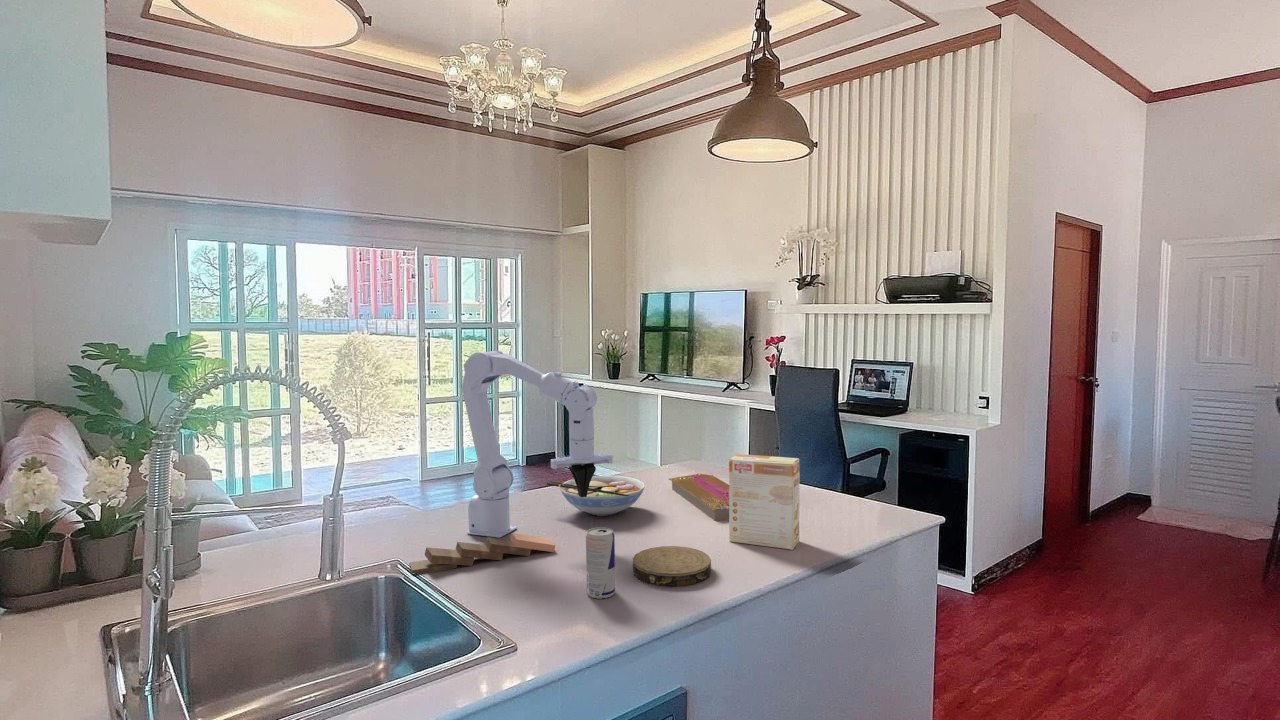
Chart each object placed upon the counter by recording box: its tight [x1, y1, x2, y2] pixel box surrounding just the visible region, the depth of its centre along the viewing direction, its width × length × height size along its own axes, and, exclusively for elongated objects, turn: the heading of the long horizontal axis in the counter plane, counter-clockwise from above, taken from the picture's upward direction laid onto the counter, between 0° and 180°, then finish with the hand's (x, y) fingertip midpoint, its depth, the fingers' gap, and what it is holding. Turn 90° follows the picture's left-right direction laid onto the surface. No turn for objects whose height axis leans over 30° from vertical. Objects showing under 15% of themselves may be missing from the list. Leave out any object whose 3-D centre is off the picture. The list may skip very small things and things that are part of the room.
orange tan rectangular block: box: [509, 532, 556, 553], centre depth 154 cm, size 2×5×9 cm
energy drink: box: [585, 526, 616, 600], centre depth 130 cm, size 5×5×12 cm
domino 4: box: [484, 536, 532, 557], centre depth 152 cm, size 2×5×9 cm
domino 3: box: [455, 541, 504, 561], centre depth 149 cm, size 2×5×9 cm
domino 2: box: [424, 546, 475, 567], centre depth 145 cm, size 2×5×9 cm
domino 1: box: [408, 559, 458, 574], centre depth 145 cm, size 2×5×9 cm
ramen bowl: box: [546, 475, 646, 517], centre depth 183 cm, size 25×23×8 cm
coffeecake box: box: [728, 453, 801, 551], centre depth 158 cm, size 15×7×20 cm, turn 65°
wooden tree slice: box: [632, 545, 712, 588], centre depth 141 cm, size 16×16×3 cm
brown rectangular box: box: [668, 473, 729, 522], centre depth 193 cm, size 35×14×6 cm, turn 16°
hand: (582, 496), depth 161 cm, fingers closed
